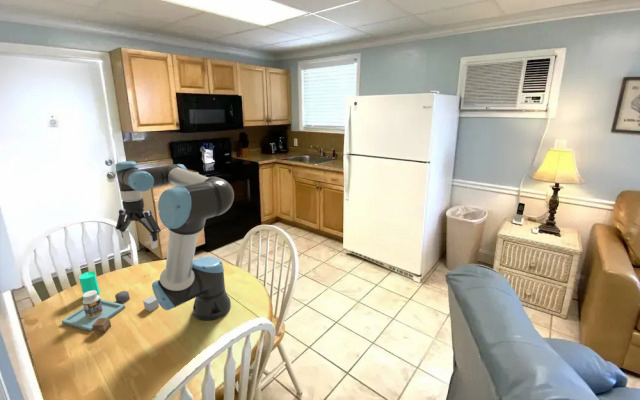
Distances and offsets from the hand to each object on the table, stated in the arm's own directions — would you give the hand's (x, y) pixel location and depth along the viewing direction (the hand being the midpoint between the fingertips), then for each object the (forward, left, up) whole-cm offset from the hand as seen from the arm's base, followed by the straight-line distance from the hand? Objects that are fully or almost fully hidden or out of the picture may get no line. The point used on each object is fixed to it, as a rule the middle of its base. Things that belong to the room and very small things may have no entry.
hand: (141, 246), depth 134 cm
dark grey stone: (+8, +7, -24) cm, 27 cm away
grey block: (-8, +7, -24) cm, 27 cm away
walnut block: (-1, +24, -24) cm, 34 cm away
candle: (+24, +8, -25) cm, 35 cm away
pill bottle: (+10, +18, -24) cm, 32 cm away
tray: (+10, +18, -24) cm, 32 cm away
